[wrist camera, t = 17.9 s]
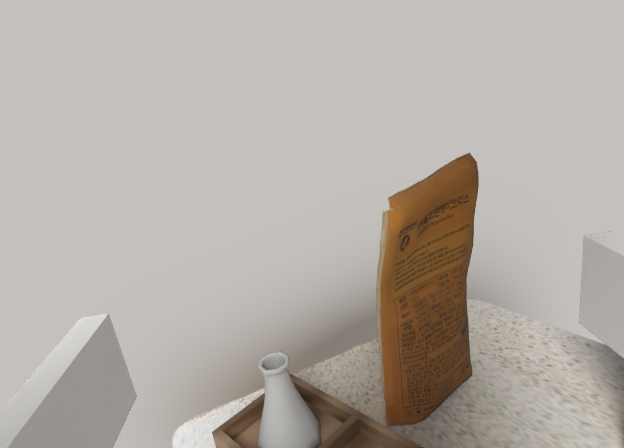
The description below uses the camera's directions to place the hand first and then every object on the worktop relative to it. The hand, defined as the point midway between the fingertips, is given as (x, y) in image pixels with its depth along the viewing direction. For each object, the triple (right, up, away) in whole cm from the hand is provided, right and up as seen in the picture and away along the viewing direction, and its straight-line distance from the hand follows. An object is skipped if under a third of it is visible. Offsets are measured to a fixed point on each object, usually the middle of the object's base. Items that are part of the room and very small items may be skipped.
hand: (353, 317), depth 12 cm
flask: (-4, -21, +35) cm, 41 cm away
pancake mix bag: (+14, -18, +41) cm, 47 cm away
